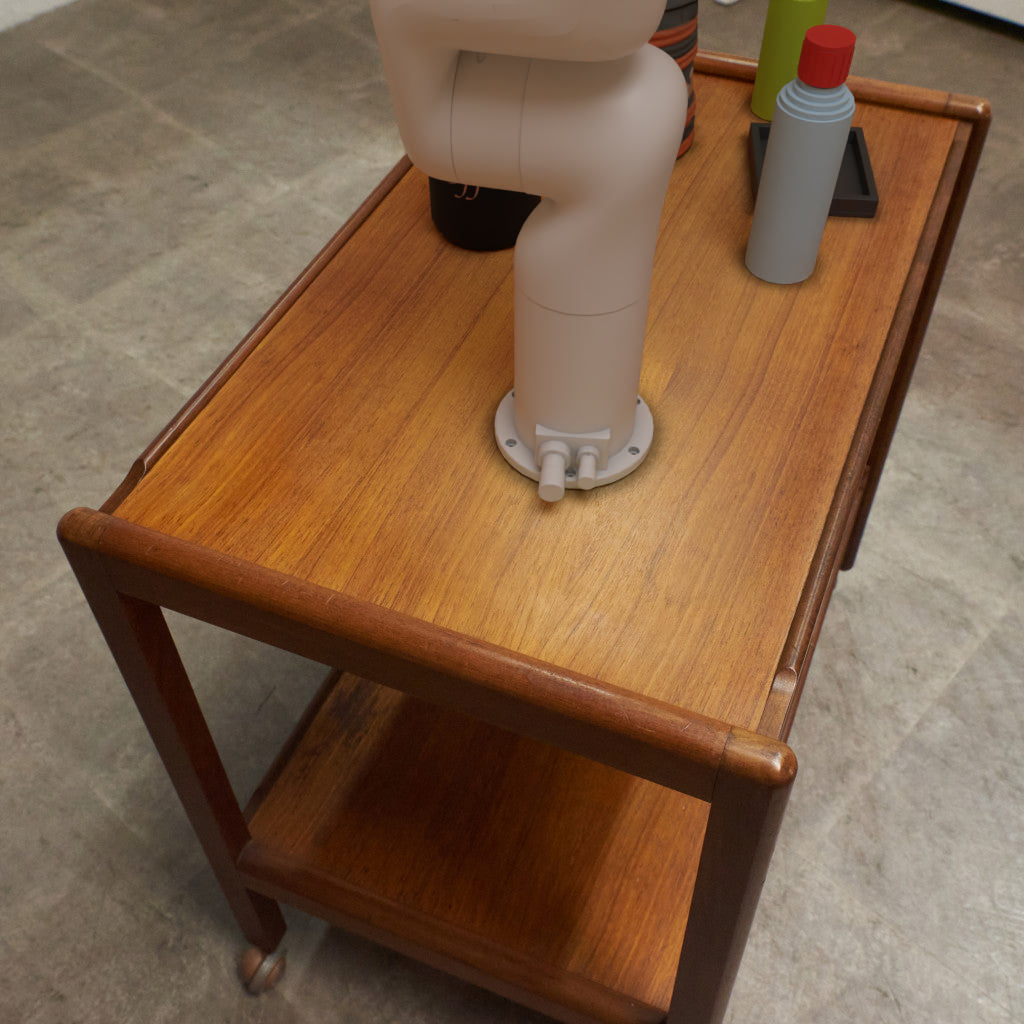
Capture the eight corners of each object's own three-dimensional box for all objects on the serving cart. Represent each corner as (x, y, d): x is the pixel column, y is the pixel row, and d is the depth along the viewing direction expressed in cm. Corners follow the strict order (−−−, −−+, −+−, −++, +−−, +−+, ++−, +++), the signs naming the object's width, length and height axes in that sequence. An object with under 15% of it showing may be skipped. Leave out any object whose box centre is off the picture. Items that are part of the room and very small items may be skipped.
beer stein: (498, 148, 113) (495, -50, 98) (546, 84, 122) (551, -107, 106) (671, 185, 108) (696, -18, 93) (708, 115, 117) (737, -80, 102)
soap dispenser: (812, 97, 119) (855, -96, 104) (796, 127, 115) (838, -70, 100) (761, 87, 121) (796, -105, 106) (744, 115, 117) (777, -80, 102)
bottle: (817, 286, 97) (876, 63, 81) (746, 282, 98) (791, 59, 82) (810, 244, 101) (865, 24, 85) (743, 241, 102) (785, 21, 86)
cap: (849, 89, 84) (859, 48, 82) (799, 87, 85) (807, 46, 82) (843, 65, 87) (853, 25, 84) (795, 63, 87) (803, 23, 85)
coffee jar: (412, 239, 102) (396, 56, 88) (462, 182, 108) (454, 4, 95) (512, 267, 99) (512, 82, 86) (558, 208, 105) (564, 27, 92)
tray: (874, 218, 104) (879, 200, 103) (754, 212, 105) (758, 194, 103) (857, 144, 113) (862, 127, 112) (747, 139, 114) (750, 122, 112)
